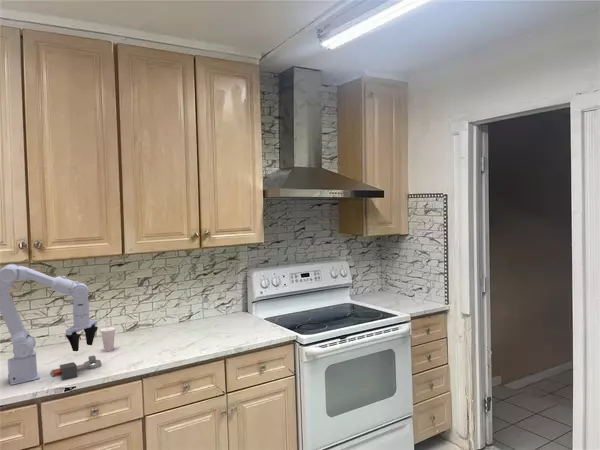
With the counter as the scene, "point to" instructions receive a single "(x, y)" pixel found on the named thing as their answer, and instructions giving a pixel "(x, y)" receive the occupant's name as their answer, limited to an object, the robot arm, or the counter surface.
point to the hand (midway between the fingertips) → (82, 347)
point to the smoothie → (108, 337)
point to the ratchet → (81, 366)
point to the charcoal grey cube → (68, 371)
